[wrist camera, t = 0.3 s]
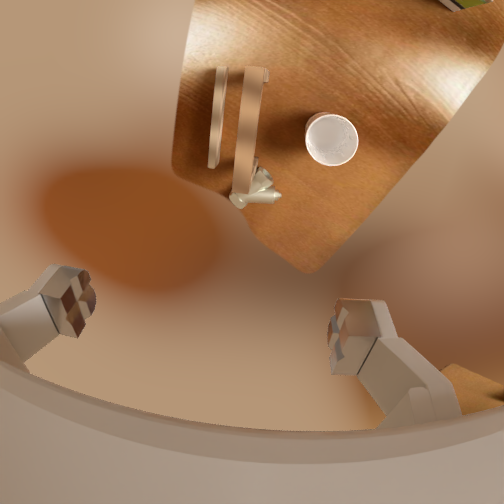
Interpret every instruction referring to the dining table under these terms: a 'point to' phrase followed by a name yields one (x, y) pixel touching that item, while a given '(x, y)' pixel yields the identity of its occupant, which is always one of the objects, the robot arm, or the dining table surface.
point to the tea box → (462, 3)
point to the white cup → (330, 138)
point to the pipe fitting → (257, 191)
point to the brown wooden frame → (247, 124)
